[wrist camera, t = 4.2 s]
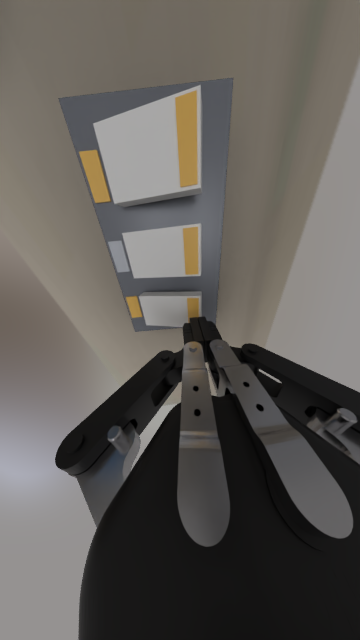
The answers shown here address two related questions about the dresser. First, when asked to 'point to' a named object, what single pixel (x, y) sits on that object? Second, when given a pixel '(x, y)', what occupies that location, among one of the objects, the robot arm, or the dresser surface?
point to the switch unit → (165, 212)
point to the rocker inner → (154, 149)
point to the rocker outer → (170, 307)
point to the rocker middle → (165, 251)
